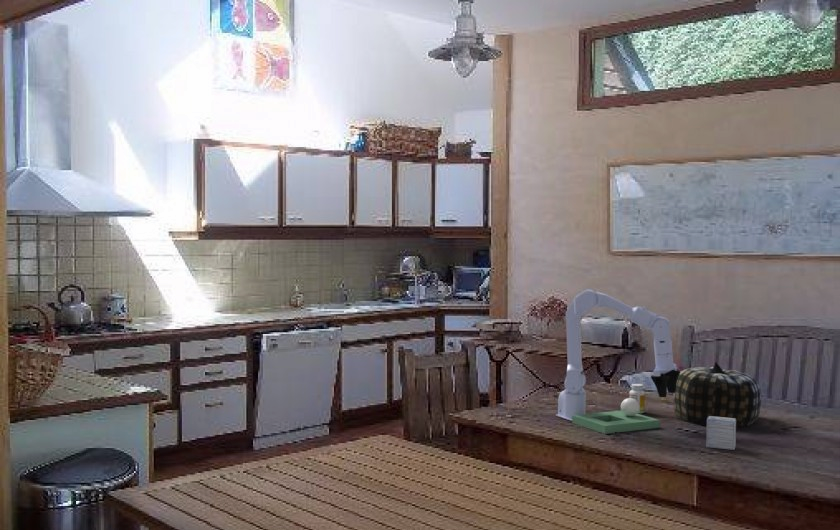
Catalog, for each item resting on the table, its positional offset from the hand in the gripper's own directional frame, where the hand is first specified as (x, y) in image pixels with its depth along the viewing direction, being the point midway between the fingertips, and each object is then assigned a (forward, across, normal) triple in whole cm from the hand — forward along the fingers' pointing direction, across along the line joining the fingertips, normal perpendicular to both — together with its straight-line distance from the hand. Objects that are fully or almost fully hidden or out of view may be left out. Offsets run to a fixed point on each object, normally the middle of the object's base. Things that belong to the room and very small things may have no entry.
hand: (667, 394), depth 280 cm
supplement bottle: (+9, +13, +18) cm, 24 cm away
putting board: (+8, -12, +14) cm, 20 cm away
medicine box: (+12, -18, -23) cm, 32 cm away
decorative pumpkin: (+12, +21, -7) cm, 25 cm away
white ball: (+3, -6, +11) cm, 13 cm away
